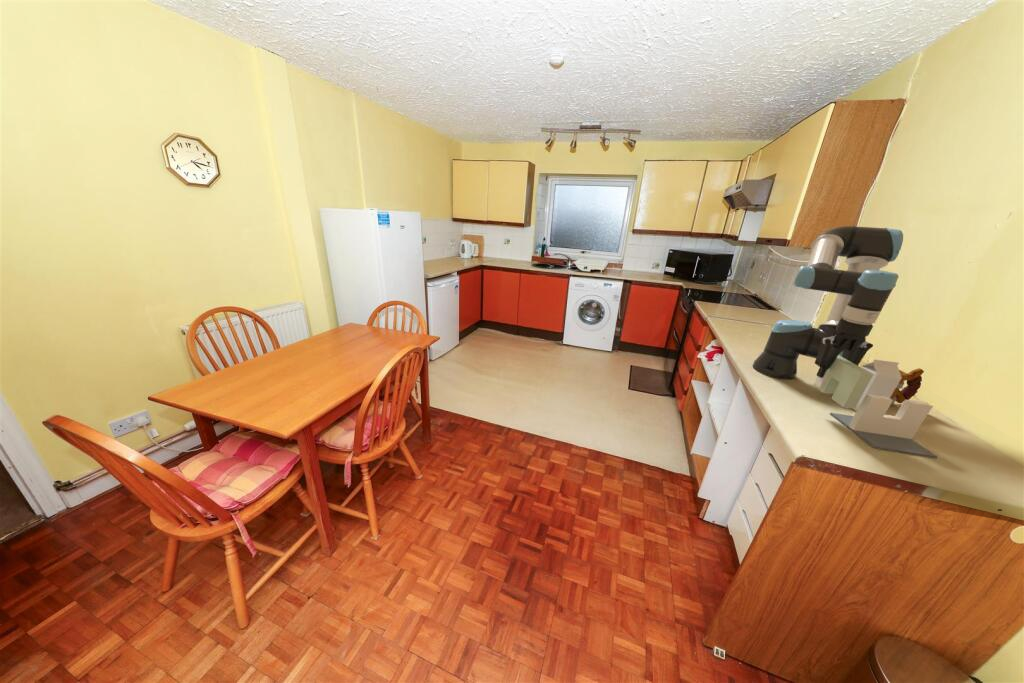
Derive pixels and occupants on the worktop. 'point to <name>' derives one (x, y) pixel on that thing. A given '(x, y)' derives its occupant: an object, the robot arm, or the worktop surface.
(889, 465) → the worktop surface
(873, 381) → the milk carton
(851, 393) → the pale green tall block
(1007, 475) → the worktop surface
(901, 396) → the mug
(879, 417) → the notched wall on base
